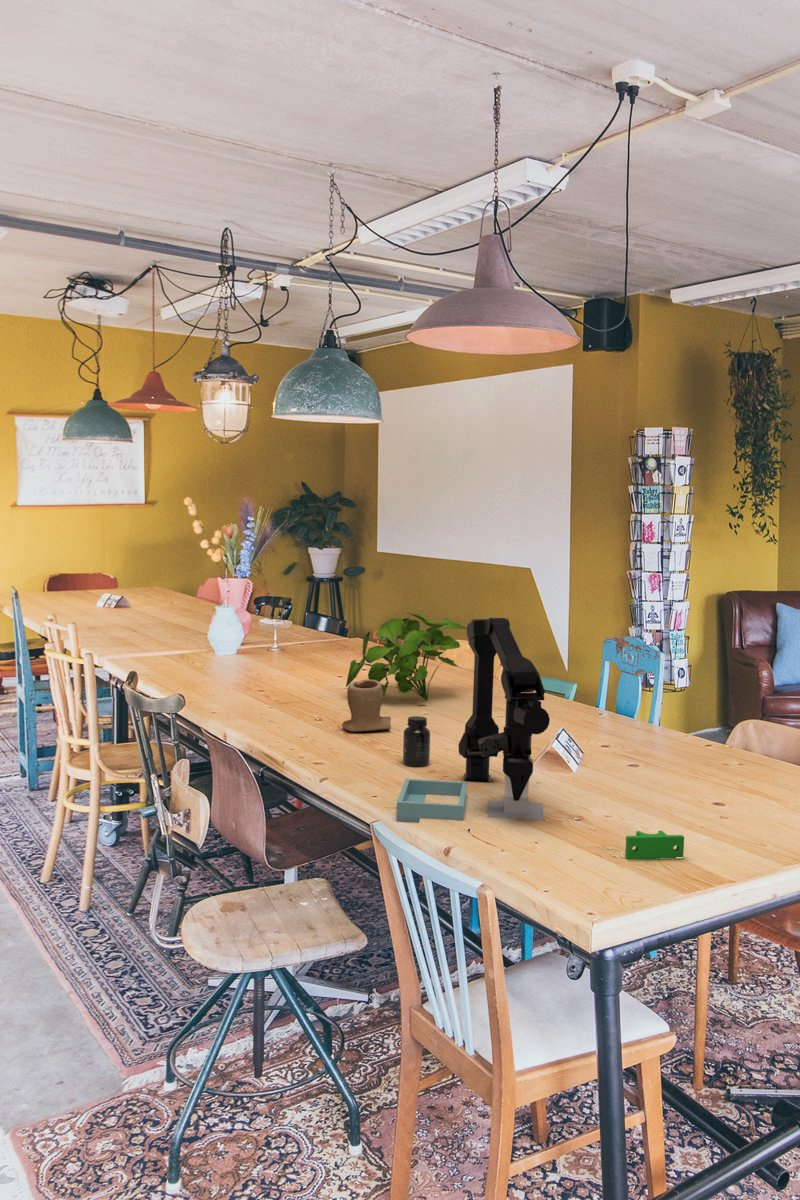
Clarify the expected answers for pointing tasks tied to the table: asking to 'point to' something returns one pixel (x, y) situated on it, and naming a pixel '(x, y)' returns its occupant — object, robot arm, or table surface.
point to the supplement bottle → (416, 742)
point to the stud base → (498, 812)
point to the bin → (415, 807)
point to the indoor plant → (405, 652)
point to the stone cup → (366, 707)
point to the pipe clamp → (654, 846)
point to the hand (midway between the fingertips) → (515, 794)
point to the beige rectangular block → (509, 802)
